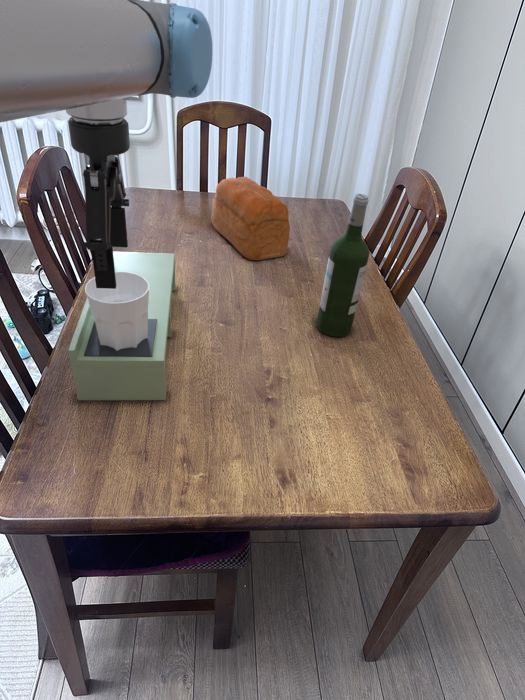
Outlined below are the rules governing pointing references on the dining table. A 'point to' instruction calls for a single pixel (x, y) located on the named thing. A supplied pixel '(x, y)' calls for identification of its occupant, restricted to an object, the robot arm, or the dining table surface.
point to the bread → (251, 218)
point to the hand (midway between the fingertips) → (113, 265)
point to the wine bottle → (344, 275)
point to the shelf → (130, 363)
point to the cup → (120, 310)
